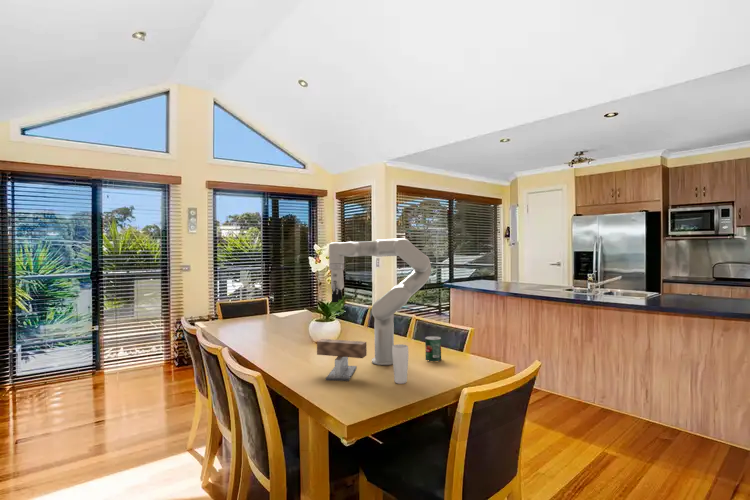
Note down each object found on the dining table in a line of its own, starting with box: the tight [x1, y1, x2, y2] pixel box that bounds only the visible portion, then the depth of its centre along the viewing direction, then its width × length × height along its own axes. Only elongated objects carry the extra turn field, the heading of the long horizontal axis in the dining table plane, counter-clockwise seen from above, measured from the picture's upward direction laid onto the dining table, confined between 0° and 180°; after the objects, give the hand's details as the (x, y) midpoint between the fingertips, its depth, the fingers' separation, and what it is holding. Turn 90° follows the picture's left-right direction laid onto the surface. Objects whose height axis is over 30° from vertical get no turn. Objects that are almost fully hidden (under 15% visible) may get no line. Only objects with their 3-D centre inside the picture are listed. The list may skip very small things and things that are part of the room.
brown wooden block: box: [316, 338, 368, 359], centre depth 172 cm, size 22×5×6 cm, turn 71°
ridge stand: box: [325, 356, 357, 382], centre depth 172 cm, size 10×18×8 cm, turn 172°
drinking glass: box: [392, 343, 409, 385], centre depth 161 cm, size 7×7×15 cm
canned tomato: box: [424, 335, 442, 362], centre depth 193 cm, size 8×8×11 cm
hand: (337, 300), depth 193 cm, fingers open, 9 cm apart
